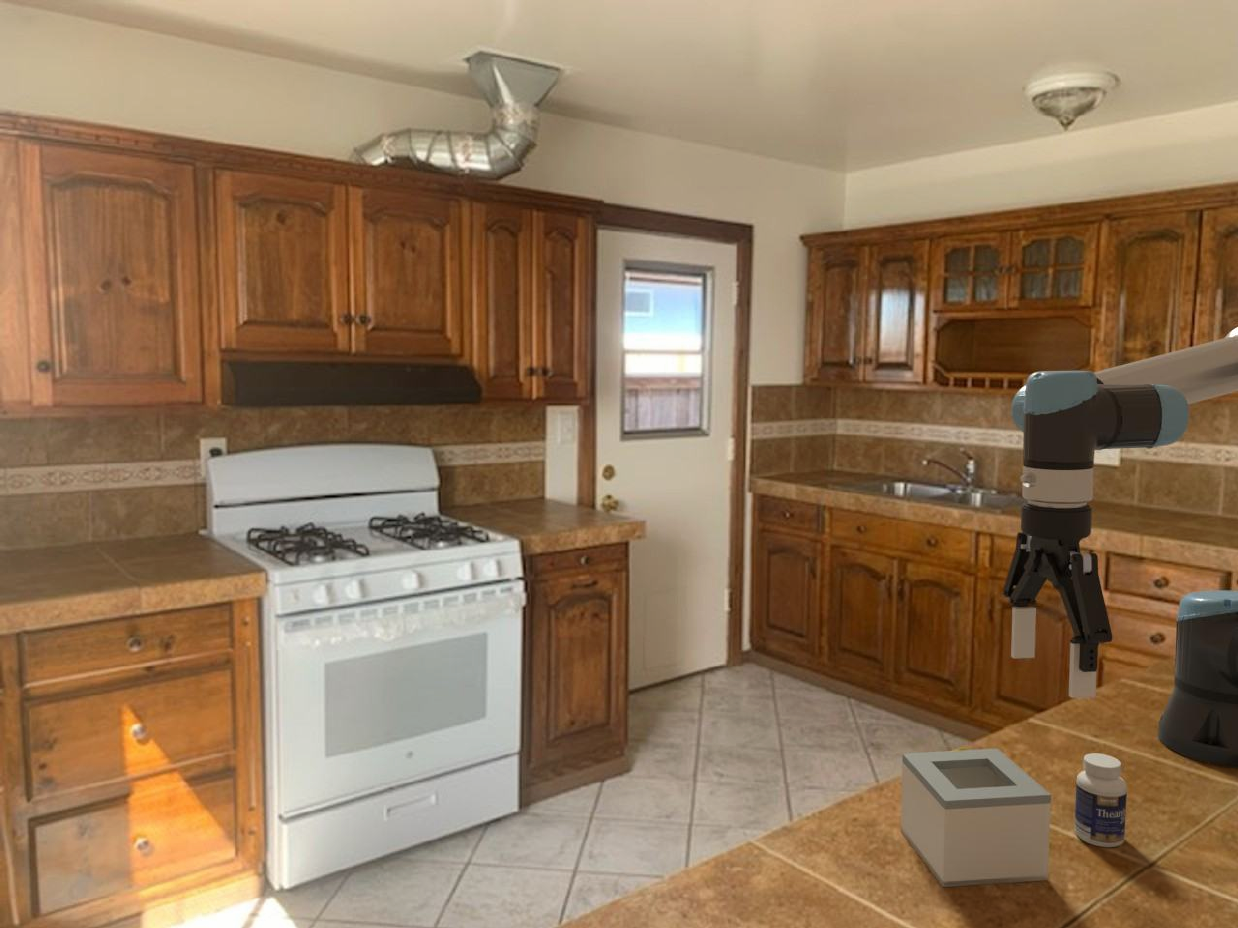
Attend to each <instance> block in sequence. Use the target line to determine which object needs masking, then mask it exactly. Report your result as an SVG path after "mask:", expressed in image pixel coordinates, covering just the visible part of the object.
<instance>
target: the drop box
mask: <svg viewBox="0 0 1238 928" xmlns="http://www.w3.org/2000/svg"><path fill="white" fill-rule="evenodd" d="M901 760H902V766H901V768H902V769H901V772H902V773H901V816H900V817H901V819H900V824H901V825H900V832H901V834H903V836H904V837H905V838H906V840H907V841H908V843H909V844H910V846H912V848H913V849H914V850H915V852H916V853H917V855H918V856H919V858H921V860H922V862H924V863H925V865H926V867H927V868H928V869H929V870H930V872H931V874H932V875H934V877H935V879H936V880H937V881H938V883H939V884H940V885H941V886H942V888H948V887H949V888H951V887H967V886H976V885H977V886H980V885H996V884H1011V883H1024V882H1026V883H1027V882H1039V881H1040V882H1041V881H1048V880H1049V879H1048V878H1049V856H1050V855H1049V854H1050V850H1049V849H1050V829H1051V826H1050V824H1051V801H1052V794H1051V793H1050V792H1049V791H1047V790H1046V788H1044V787H1043V786H1041V785H1040V784H1039V783H1038V782H1037V781H1036V780H1034V779H1033V778H1032V777H1031V776H1030V775H1029V774H1028V773H1027V772H1025V771H1024V770H1023V769H1022V768H1021V767H1020V766H1018V765H1017V764H1016V763H1015V762H1014V761H1013V760H1011V759H1010V758H1009V756H1007V755H1006V754H1005V753H1003V752H1002V751H1001V750H1000V749H999V748H984V749H983V748H982V749H981V748H980V749H966V750H961V751H952V750H947V751H946V750H945V751H943V750H942V751H929V752H926V751H924V752H909V753H908V752H907V753H902V759H901Z"/></svg>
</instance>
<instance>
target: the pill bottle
mask: <svg viewBox="0 0 1238 928" xmlns="http://www.w3.org/2000/svg"><path fill="white" fill-rule="evenodd" d="M1082 767H1083V770H1081V772H1079V773H1078V774H1077V777H1076V781H1075V782H1076V784H1075V802H1074V803H1075V804H1074V805H1075V806H1074V833H1075V834H1076V836H1078V838H1079V839H1081V840H1082V841H1084V842H1086V843H1087V844H1090V845H1093V846H1098V847H1103V848H1115V847H1119V846H1121V845H1123V843H1124V841H1125V832H1126V831H1125V830H1126V817H1127V816H1126V814H1127V797H1128V787H1127V784H1126V782H1125V780H1124V779H1123V778H1122V777H1121V774H1122V763H1121V761H1120V760H1119V759H1118V758H1116V757H1114V756H1112V755H1108V754H1104V753H1099V752H1097V753H1096V752H1094V753H1087V754H1085V755H1084V757H1083V765H1082Z"/></svg>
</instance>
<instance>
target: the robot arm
mask: <svg viewBox="0 0 1238 928" xmlns="http://www.w3.org/2000/svg"><path fill="white" fill-rule="evenodd" d="M1236 392H1238V327H1236V328H1234V329H1233V330H1231V331H1230V332H1229V333H1227V334H1226V336H1225V337H1224V338H1220V339H1217V340H1212V341H1209V342H1205V343H1201V344H1198V345H1195V346H1190V347H1185V348H1182V349H1178V350H1175V351H1171V352H1168V353H1167V352H1166V353H1163V354H1159V355H1155V356H1151V357H1149V358H1148V357H1147V358H1144V359H1140V360H1137V361H1132V362H1129V363H1126V364H1122V365H1117V366H1114V367H1113V366H1112V367H1110V368H1105V369H1102V370H1098V371H1094V372H1093V371H1090V370H1044V371H1043V370H1042V371H1036V372H1033V373H1032V374H1030V375H1029V376H1028V378H1027V380H1026V384H1025V385H1024V386H1022V387H1021V388H1019V389H1018V391H1017V392H1016V394H1014V397H1013V400H1012V403H1011V415H1012V420H1013V423H1014V424H1015V427H1016V428H1017V429H1018V430H1019V431H1021V432H1022V433H1023V443H1022V444H1023V446H1022V447H1023V448H1022V449H1023V451H1022V452H1023V454H1022V455H1023V460H1022V463H1023V466H1022V475H1021V476H1020V482H1021V483H1022V491H1021V492H1022V497H1023V498H1024V499H1025V500H1027V501H1025V502H1023V503H1022V504H1021V515H1020V530H1021V531H1022V532H1017V533H1016V542H1015V543H1016V544H1015V550H1014V553H1013V556H1012V560H1011V563H1010V566H1009V569H1008V573H1007V576H1006V579H1005V582H1004V586H1003V589H1002V595H1003V596H1004V598H1009V599H1008V601H1009V604H1010V606H1012V608H1011V609H1012V614H1011V644H1010V645H1011V646H1010V647H1011V648H1010V657H1011V658H1012V659H1013V660H1014V659H1035V653H1036V652H1035V650H1036V627H1037V626H1036V622H1037V621H1036V619H1037V617H1036V615H1037V607H1035V606H1036V605H1038V603H1037V600H1036V598H1037V596H1038V595H1039V593H1040V591H1041V589H1042V588H1043V586H1044V585H1045V583H1046V581H1049V582H1050V583H1051V584H1052V587H1053V589H1055V590H1057V591H1058V592H1059V595H1060V598H1061V601H1062V604H1063V607H1064V609H1065V612H1066V615H1067V618H1068V620H1069V623H1070V626H1071V629H1072V633H1073V635H1074V636H1073V637H1071V638H1070V640H1069V642H1070V644H1069V645H1070V647H1069V649H1070V650H1069V673H1068V674H1069V678H1068V679H1069V680H1068V697H1070V698H1071V699H1083V698H1096V696H1097V695H1096V693H1097V692H1096V689H1097V669H1098V656H1099V645H1100V643H1111V642H1112V641H1113V632H1112V630H1111V629H1112V628H1111V624H1110V620H1109V615H1108V610H1107V606H1106V602H1105V598H1104V593H1103V589H1102V585H1101V579H1100V576H1099V558H1098V554H1097V553H1095V552H1087V553H1085V552H1084V553H1082V552H1081V546H1080V542H1081V541H1082V540H1083V539H1086V538H1088V537H1089V536H1091V534H1092V519H1093V518H1092V513H1093V508H1092V507H1091V505H1089V504H1088V503H1090V501H1092V500H1093V493H1094V466H1095V465H1094V464H1095V451H1102V450H1115V449H1117V450H1119V449H1140V448H1141V449H1143V448H1146V449H1148V450H1150V449H1154V448H1157V447H1164V446H1170V445H1172V444H1175V443H1176V442H1177V441H1180V439H1181V438H1182V437H1183V436H1184V434H1185V432H1187V429H1188V426H1189V422H1190V420H1189V419H1190V415H1189V414H1190V407H1189V405H1191V404H1195V403H1200V402H1203V401H1206V400H1211V399H1213V398H1214V399H1215V398H1217V397H1222V396H1225V395H1229V394H1231V393H1232V394H1233V393H1236ZM1178 606H1179V607H1178V614H1177V617H1176V630H1175V632H1176V635H1175V636H1176V637H1175V660H1174V661H1175V665H1174V683H1173V689H1172V692H1171V694H1170V696H1169V699H1168V701H1167V703H1166V705H1165V709H1164V711H1163V714H1162V715H1161V717H1160V718H1159V721H1158V728H1157V729H1158V730H1157V738H1158V740H1159V741H1160V742H1161V743H1162V744H1163V745H1164V746H1165V747H1167V748H1168V749H1171V750H1172V751H1174V752H1176V753H1178V754H1180V755H1183V756H1185V757H1188V758H1191V759H1193V760H1197V761H1201V762H1204V763H1208V764H1211V765H1212V764H1213V765H1217V766H1222V767H1223V766H1224V767H1231V768H1238V590H1223V589H1221V590H1220V589H1219V590H1216V589H1215V590H1200V591H1192V592H1188V593H1187V594H1184V595H1183V597H1181V599H1180V601H1179V604H1178Z"/></svg>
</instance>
